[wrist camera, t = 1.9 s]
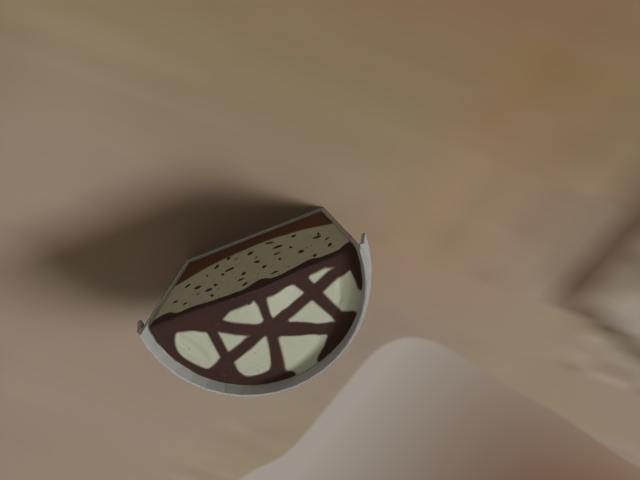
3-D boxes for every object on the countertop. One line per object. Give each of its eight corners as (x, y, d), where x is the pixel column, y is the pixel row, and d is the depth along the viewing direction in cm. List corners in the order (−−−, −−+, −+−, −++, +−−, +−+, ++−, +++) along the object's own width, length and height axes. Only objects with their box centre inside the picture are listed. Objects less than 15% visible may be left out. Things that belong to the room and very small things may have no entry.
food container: (204, 349, 39) (183, 441, 29) (164, 268, 37) (128, 339, 28) (377, 282, 39) (412, 354, 29) (345, 198, 37) (371, 244, 27)
